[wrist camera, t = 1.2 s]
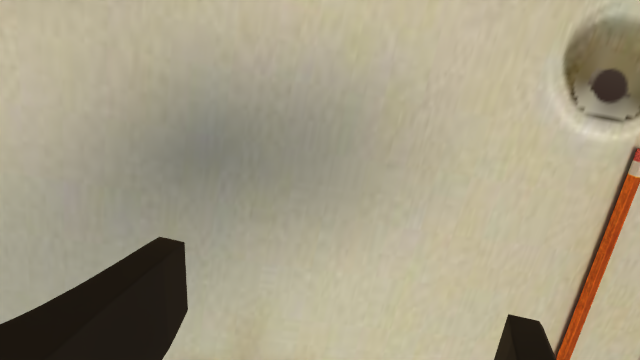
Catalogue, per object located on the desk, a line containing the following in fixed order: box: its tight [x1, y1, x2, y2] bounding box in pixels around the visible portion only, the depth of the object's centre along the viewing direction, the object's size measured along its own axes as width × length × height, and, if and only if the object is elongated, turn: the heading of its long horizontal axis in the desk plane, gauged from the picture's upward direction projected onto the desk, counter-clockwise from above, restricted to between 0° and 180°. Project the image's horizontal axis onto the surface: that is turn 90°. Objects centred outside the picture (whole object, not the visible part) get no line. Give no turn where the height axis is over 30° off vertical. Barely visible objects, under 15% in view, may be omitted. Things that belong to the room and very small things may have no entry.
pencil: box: [556, 149, 640, 360], centre depth 37 cm, size 1×18×1 cm, turn 168°
